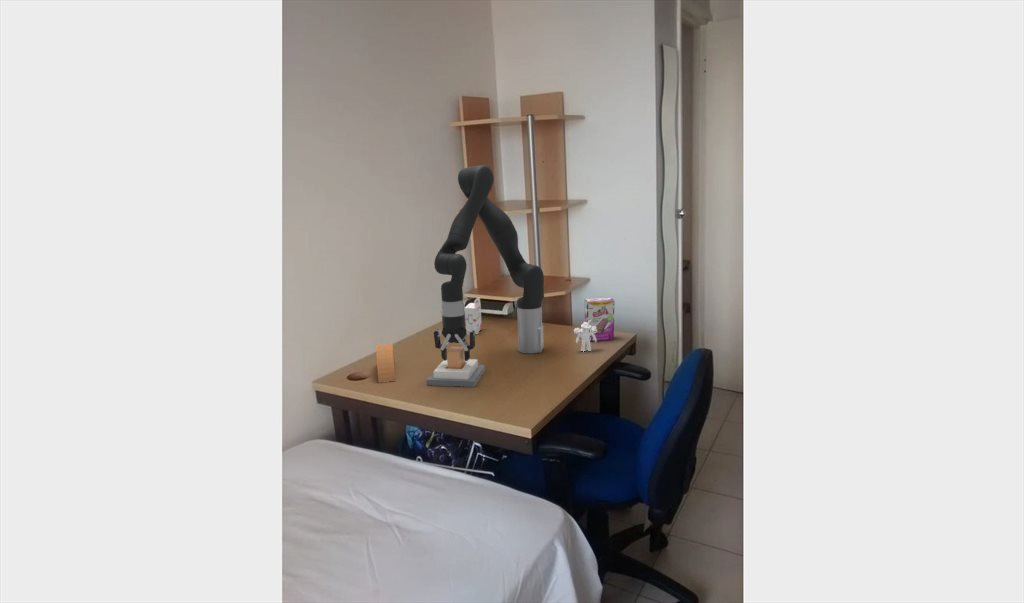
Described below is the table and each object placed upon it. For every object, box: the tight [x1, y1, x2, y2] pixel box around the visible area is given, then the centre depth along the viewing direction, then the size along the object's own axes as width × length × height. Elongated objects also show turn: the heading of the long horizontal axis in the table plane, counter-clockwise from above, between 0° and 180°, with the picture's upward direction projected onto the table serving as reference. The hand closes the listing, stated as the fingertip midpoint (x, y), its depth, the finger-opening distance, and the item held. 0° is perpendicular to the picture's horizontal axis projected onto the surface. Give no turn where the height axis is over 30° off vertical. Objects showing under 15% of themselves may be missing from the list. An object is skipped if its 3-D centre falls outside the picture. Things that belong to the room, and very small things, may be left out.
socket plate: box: [426, 358, 486, 388], centre depth 217 cm, size 16×16×4 cm
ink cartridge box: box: [464, 296, 483, 335], centre depth 269 cm, size 9×5×15 cm, turn 168°
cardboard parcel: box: [447, 346, 465, 369], centre depth 216 cm, size 4×6×8 cm
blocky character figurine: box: [573, 319, 598, 353], centre depth 239 cm, size 9×4×12 cm, turn 102°
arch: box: [376, 343, 396, 383], centre depth 224 cm, size 6×20×10 cm, turn 10°
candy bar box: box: [583, 297, 615, 342], centre depth 252 cm, size 11×5×16 cm, turn 98°
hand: (455, 360), depth 216 cm, fingers open, 7 cm apart
